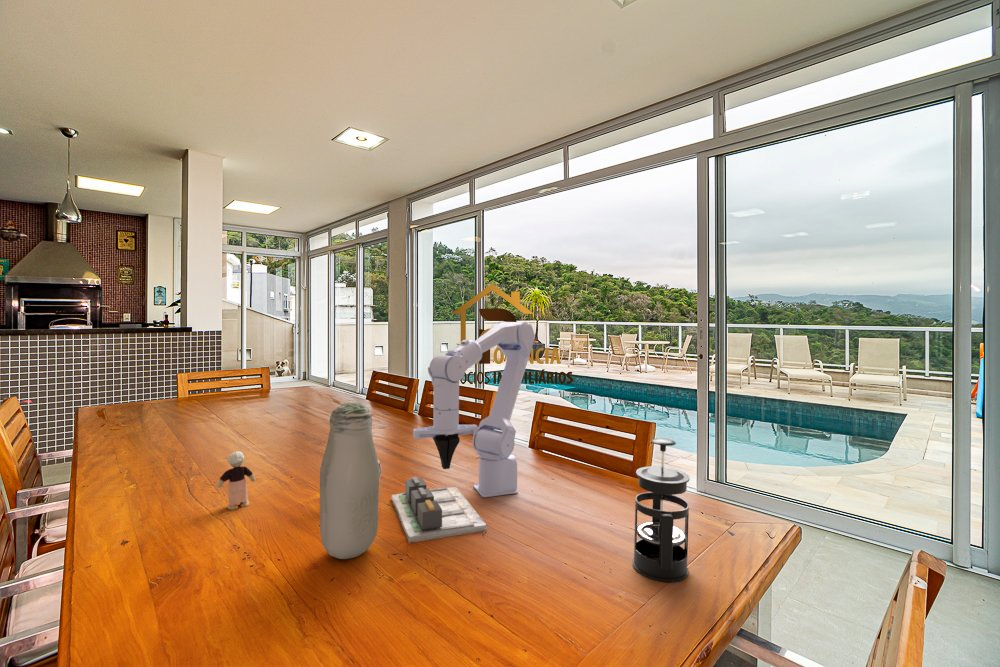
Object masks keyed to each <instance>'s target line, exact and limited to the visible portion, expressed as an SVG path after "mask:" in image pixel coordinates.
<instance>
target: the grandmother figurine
mask: <svg viewBox="0 0 1000 667" xmlns="http://www.w3.org/2000/svg"><path fill="white" fill-rule="evenodd" d="M244 461H245V456H244V454H243V452H242V451H239V450H238V451H234V452H232V453H230V454H229V456H228V458H227V462H228V464H229V465H230V466H231V467H232V468H230V469H228V470H226V471H224V473H222V475H221V476H220V478H219V481H218V483H217V485H216V487H217V488H219V489H221V488H222V487H223V485H224V483H225V482H227V481H228V484H227V485H228V488H227V489H228V490H227V491H228V495H227V496H228V505H227V509H229V510H231V511H233V510H237V509H238V508H239V506H240V507H241V508H243V507H244V508H245V507H248V506H249V505H250V501H249V499H248V486H247V481H246V480H247V479H246V478H245V476H246V477H248V479H249V480H250V481H251V482H253V483H254V482H255V481H256V480H257V479H256V477H255V476H254V474H253V471H251V470H250V469H249V467H247V466H242V465H243V462H244ZM238 504H239V506H238Z"/></svg>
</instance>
